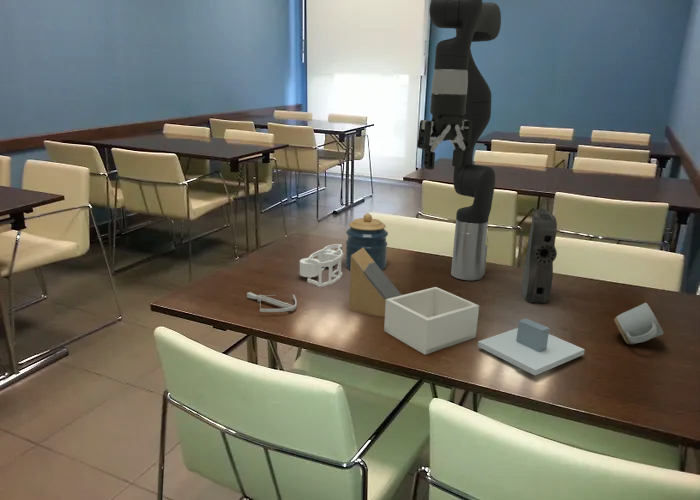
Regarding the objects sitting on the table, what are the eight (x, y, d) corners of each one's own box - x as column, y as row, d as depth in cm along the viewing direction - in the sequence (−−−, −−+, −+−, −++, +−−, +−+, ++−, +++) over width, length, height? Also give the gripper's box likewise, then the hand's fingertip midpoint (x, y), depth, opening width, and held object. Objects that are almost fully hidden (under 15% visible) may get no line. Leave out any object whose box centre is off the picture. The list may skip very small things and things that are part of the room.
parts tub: (433, 316, 137) (435, 286, 135) (475, 337, 126) (479, 305, 124) (384, 330, 128) (385, 299, 126) (425, 354, 117) (427, 320, 115)
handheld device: (526, 307, 145) (538, 216, 138) (514, 287, 159) (524, 203, 152) (549, 308, 144) (563, 217, 137) (535, 288, 159) (546, 204, 152)
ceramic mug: (626, 345, 128) (611, 315, 130) (663, 333, 125) (647, 302, 127) (627, 348, 119) (611, 314, 121) (666, 334, 116) (649, 301, 118)
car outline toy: (325, 263, 175) (325, 241, 173) (356, 269, 171) (357, 246, 169) (293, 282, 158) (293, 258, 156) (326, 288, 154) (327, 264, 151)
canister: (387, 276, 165) (390, 219, 160) (344, 274, 166) (346, 218, 160) (385, 262, 178) (387, 210, 173) (345, 261, 178) (347, 208, 173)
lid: (525, 333, 130) (529, 305, 128) (583, 359, 118) (588, 328, 116) (477, 351, 120) (480, 320, 118) (534, 380, 109) (539, 347, 107)
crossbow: (309, 305, 143) (309, 297, 142) (276, 320, 133) (276, 312, 132) (265, 290, 152) (264, 283, 151) (231, 304, 142) (230, 297, 141)
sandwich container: (406, 322, 134) (410, 264, 129) (348, 311, 139) (350, 255, 135) (415, 309, 141) (419, 254, 137) (360, 299, 147) (362, 246, 142)
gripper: (459, 92, 124) (453, 164, 128) (412, 91, 116) (407, 167, 120) (485, 93, 118) (477, 168, 123) (437, 92, 110) (431, 172, 115)
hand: (443, 167), depth 121 cm, fingers open, 8 cm apart
